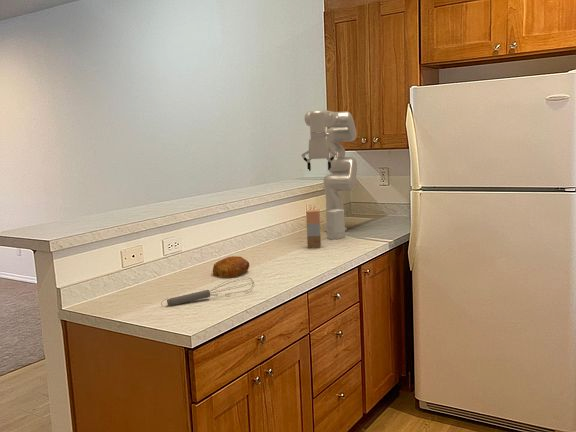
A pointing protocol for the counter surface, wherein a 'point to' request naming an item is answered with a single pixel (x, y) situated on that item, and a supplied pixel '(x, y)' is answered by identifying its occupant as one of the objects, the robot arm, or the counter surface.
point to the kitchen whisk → (198, 295)
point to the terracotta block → (313, 216)
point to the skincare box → (335, 224)
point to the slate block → (313, 229)
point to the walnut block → (314, 241)
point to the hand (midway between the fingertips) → (319, 170)
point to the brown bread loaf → (230, 267)
